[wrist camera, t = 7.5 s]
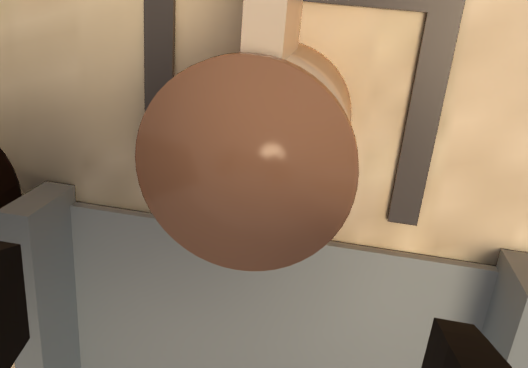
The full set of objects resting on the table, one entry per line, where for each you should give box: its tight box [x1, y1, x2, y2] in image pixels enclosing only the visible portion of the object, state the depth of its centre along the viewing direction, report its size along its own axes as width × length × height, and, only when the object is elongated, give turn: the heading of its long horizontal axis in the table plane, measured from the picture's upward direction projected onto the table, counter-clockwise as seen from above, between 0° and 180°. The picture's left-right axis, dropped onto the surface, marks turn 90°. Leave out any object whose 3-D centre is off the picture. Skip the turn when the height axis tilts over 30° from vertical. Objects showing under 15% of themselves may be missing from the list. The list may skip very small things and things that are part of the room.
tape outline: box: [144, 0, 465, 226], centre depth 17 cm, size 10×8×1 cm
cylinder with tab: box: [135, 0, 359, 271], centre depth 14 cm, size 5×7×6 cm
